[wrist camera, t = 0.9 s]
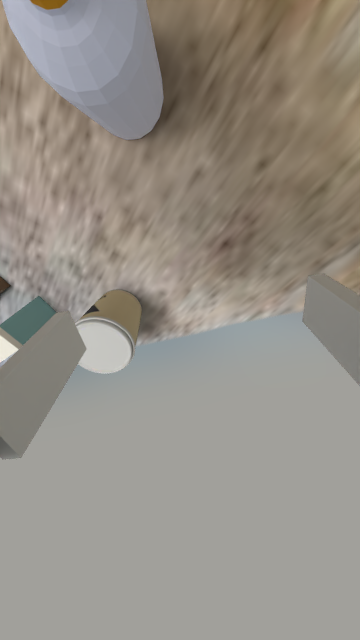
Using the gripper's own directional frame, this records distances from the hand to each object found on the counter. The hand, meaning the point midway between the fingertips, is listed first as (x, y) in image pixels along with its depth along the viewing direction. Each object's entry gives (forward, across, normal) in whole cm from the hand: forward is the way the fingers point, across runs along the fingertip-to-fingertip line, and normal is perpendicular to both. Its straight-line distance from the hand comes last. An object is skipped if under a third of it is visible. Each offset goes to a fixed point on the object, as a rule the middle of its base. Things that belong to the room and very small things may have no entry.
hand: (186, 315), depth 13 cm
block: (+25, -30, -9) cm, 40 cm away
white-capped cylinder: (+25, -14, -11) cm, 31 cm away
